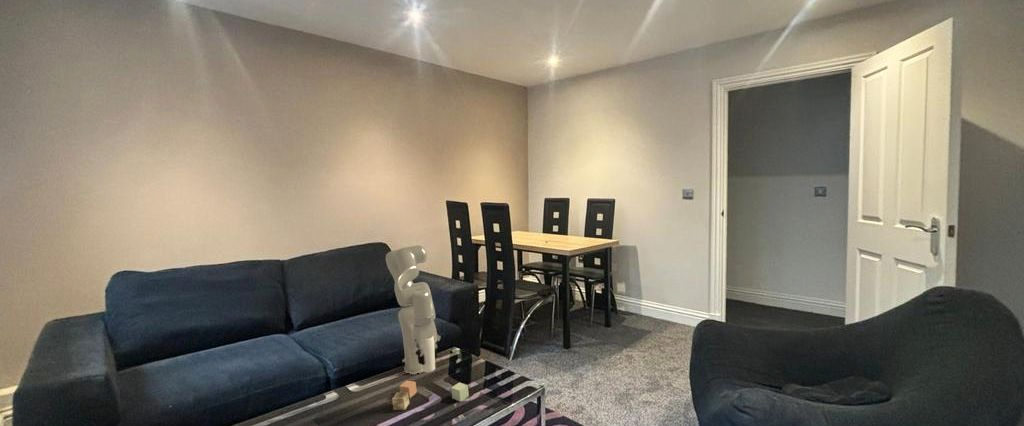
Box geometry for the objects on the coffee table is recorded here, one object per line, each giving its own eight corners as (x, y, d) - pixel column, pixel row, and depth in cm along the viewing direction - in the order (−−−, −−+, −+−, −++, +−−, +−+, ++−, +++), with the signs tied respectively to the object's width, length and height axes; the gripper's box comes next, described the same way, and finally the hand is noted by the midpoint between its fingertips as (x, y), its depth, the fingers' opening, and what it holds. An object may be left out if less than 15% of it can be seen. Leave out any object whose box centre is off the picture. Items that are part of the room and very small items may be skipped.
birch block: (393, 410, 188) (392, 398, 187) (398, 403, 193) (396, 392, 192) (405, 410, 187) (403, 398, 187) (409, 403, 192) (408, 392, 191)
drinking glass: (422, 367, 196) (418, 334, 194) (437, 365, 196) (434, 332, 194) (420, 374, 189) (416, 340, 187) (436, 372, 190) (432, 339, 188)
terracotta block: (400, 396, 198) (399, 386, 197) (407, 390, 203) (406, 380, 202) (410, 398, 196) (408, 387, 195) (416, 392, 201) (415, 381, 200)
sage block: (452, 398, 193) (451, 387, 192) (460, 393, 197) (459, 382, 196) (460, 401, 190) (459, 390, 189) (468, 396, 194) (467, 385, 193)
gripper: (432, 311, 199) (437, 350, 201) (401, 325, 185) (406, 367, 188) (444, 314, 194) (448, 354, 197) (413, 329, 181) (418, 371, 183)
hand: (428, 360), depth 192 cm, fingers closed on drinking glass, 6 cm apart
